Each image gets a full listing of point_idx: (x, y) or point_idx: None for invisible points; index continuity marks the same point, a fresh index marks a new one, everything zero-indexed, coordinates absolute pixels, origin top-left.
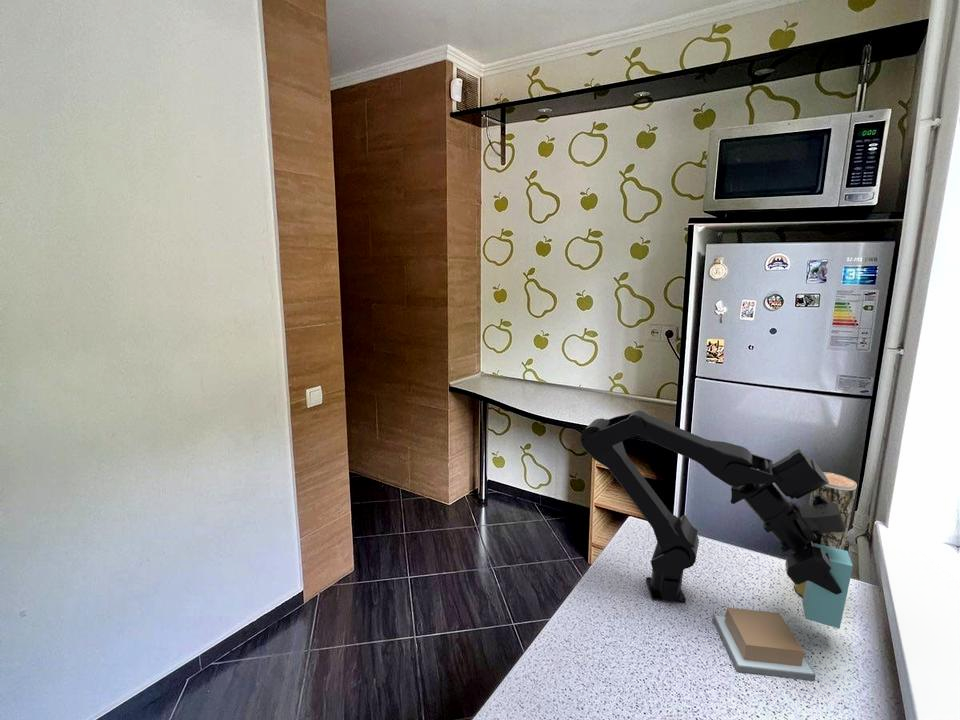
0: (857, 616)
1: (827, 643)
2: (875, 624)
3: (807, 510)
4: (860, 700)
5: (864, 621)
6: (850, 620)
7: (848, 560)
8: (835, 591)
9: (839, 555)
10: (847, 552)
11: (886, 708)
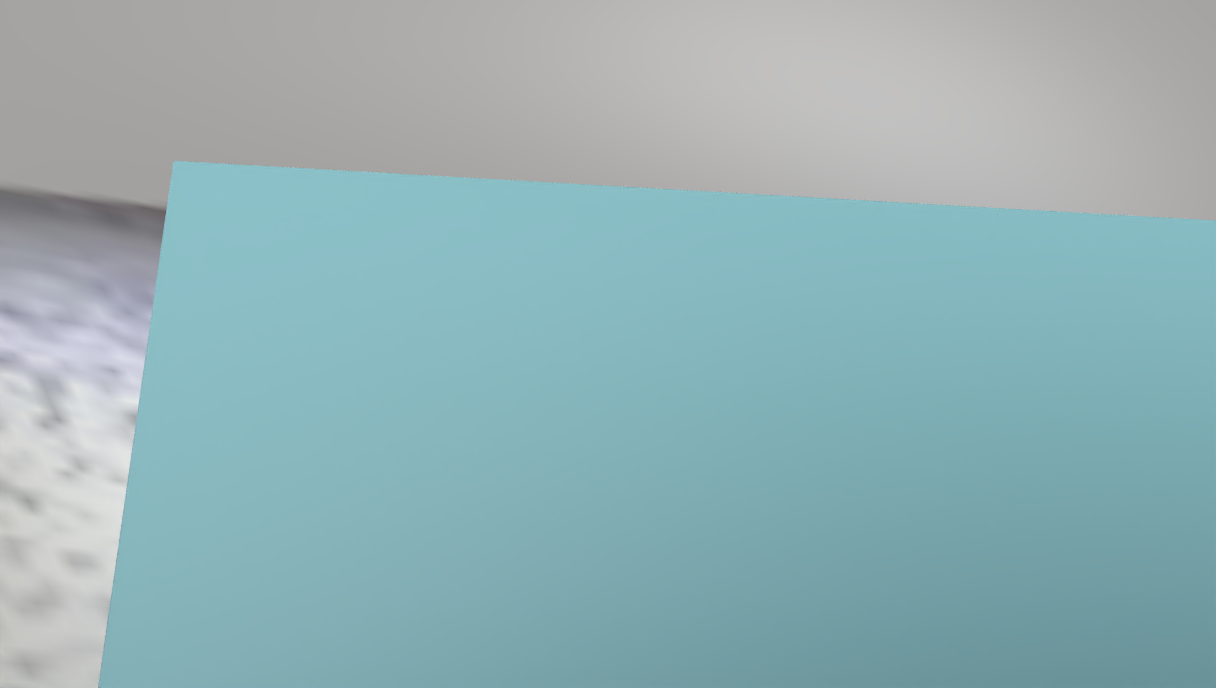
0: (11, 337)
1: None
2: (80, 231)
3: None
4: None
5: (70, 299)
6: (102, 401)
7: (1136, 302)
8: None
9: (975, 639)
10: (361, 190)
11: None
